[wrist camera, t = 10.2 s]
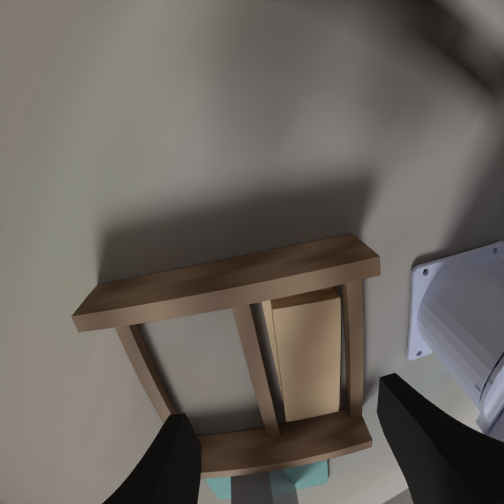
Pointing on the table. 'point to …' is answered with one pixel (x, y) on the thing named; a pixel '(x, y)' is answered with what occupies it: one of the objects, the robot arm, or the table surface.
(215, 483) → the teal mat
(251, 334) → the walnut rack
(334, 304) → the upper offcut board
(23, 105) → the table surface
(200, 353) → the table surface
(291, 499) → the gray rectangular block
